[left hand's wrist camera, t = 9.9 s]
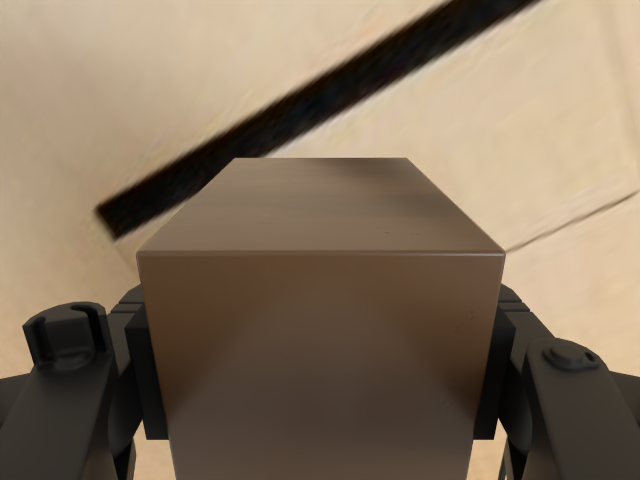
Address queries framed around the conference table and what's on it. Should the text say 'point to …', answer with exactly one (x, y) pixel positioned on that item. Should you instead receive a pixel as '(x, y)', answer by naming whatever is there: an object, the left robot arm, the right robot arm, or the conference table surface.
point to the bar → (321, 323)
